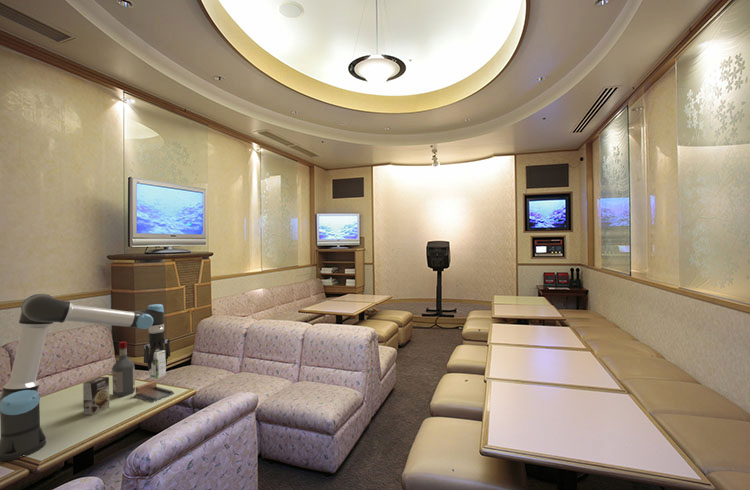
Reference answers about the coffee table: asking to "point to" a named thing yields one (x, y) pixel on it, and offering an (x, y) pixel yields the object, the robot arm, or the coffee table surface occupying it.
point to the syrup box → (159, 364)
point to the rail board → (152, 392)
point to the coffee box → (96, 395)
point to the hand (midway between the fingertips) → (157, 372)
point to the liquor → (123, 374)
